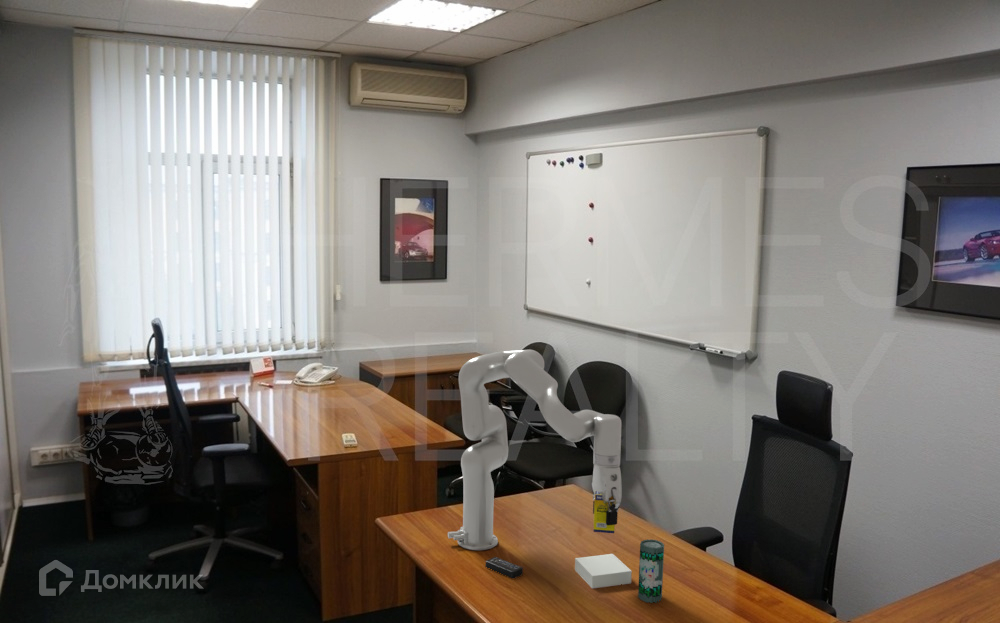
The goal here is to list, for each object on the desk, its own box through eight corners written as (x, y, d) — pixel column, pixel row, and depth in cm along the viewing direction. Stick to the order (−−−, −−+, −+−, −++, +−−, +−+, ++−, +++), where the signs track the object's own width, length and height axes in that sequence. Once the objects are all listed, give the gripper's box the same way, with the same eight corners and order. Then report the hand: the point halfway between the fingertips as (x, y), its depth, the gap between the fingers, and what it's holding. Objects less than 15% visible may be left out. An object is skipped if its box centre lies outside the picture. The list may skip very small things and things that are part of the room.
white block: (592, 589, 212) (592, 576, 212) (574, 571, 223) (575, 558, 223) (631, 584, 216) (631, 570, 215) (612, 566, 227) (612, 553, 227)
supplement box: (614, 533, 215) (616, 495, 213) (593, 532, 215) (594, 494, 214) (614, 526, 220) (616, 489, 219) (593, 524, 221) (594, 487, 220)
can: (636, 600, 206) (638, 546, 204) (640, 590, 211) (642, 538, 210) (659, 604, 204) (662, 550, 202) (662, 594, 209) (665, 541, 208)
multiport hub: (513, 580, 217) (513, 572, 217) (484, 568, 224) (485, 560, 224) (523, 575, 220) (523, 567, 220) (495, 563, 227) (495, 556, 227)
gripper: (633, 466, 209) (631, 529, 211) (605, 449, 225) (603, 507, 227) (608, 469, 207) (606, 531, 208) (582, 451, 223) (580, 509, 225)
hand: (604, 518), depth 218 cm, fingers closed on supplement box, 7 cm apart
